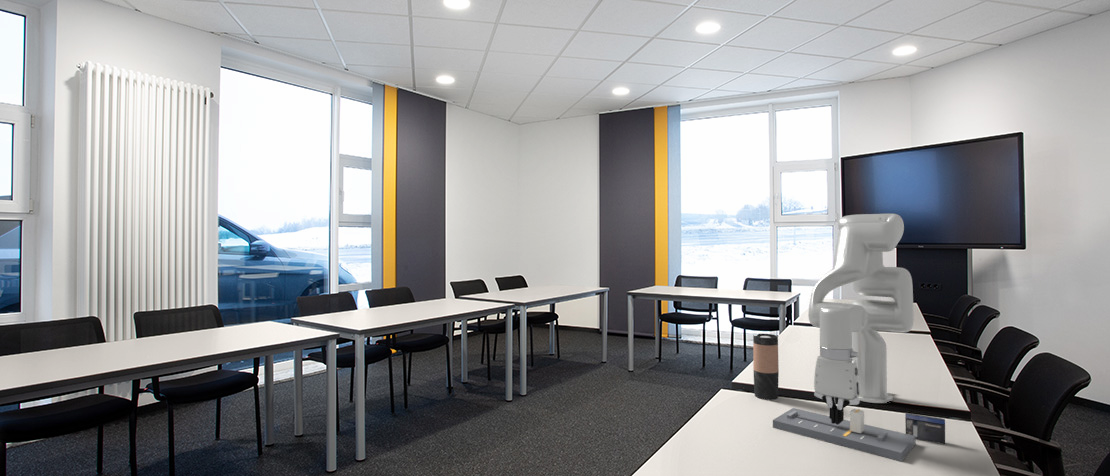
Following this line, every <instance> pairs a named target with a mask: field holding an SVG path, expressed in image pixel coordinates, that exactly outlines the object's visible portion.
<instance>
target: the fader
mask: <svg viewBox="0 0 1110 476" xmlns="http://www.w3.org/2000/svg"><path fill="white" fill-rule="evenodd" d="M849 421H850V431H853V432H857V433H862V432H863V431H864V424H865V410H861V409H859V408H858V409H857V408H852V409H851V410H850V411H849Z"/></svg>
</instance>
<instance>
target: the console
mask: <svg viewBox="0 0 1110 476" xmlns="http://www.w3.org/2000/svg"><path fill="white" fill-rule="evenodd" d="M772 428H774V429H777V430H782V431H786V432H788V433H793V434H796V435H801V436H805V437H807V438H811V439H816V440H819V441H822V442H827V443H830V444H835V445H839V446H841V447H845V448H849V449H853V450H856V451H857V450H858V451H860V452H865V453H868V454H871V455H872V454H873V455H876V456H880V457H883V458H886V459H887V458H888V459H890V460H894V461H899V462H902V461H903V460H904V459H905V458H906V456H908V454H909V453H910V452H911V451H912V449H913V448H914V447H915V446H916V444H917V441H916V440H917V439H916V436H913V435H909V434H906V433H904V432H900V431H894V430H890V429H886V428H882V427H877V426H875V425H874V426H873V425H869V424H865V423H864V431H863V432H862V433H857V432H853V431H850V420H847V419H844V420H843V421H842V422H841V423H840V424H839V425H837V424H835V423H834V424H833V423H831V419H830V418H829V415H825V414H822V413H816V412H813V411H809V410H805V409H799V408H796V407H793V408H790V409H788V411H786V412H784V413H782V414H781V415H779V416H777V417H776V418H773V419H772Z"/></svg>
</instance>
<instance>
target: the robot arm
mask: <svg viewBox="0 0 1110 476" xmlns="http://www.w3.org/2000/svg"><path fill="white" fill-rule="evenodd" d="M837 229H838V233H837V240H836V245H835V254H834V260H833V266H832V268H831V269H830V270H829V271H828V272H827V273H825V274H823V276H822V277H820V279H819V280H818V281H817V282H816V283H815V284H814V286H813V288H812V291H811V294H810V299H809V305H808V311H807V312H808V316H807V317H808V321H809V323H810V324H811V325H812V326H813V327H815V328H817V329H818V328H819V355H818V356H817V358H816V363H815V369H814V377H813V378H814V380H813V387H814V388H813V389H814V392H813V395H814V397H816V398H818V399H821V400H822V401H823V402H824V403H825V405H827V407H828V410H829V414H828V416H829V418H830V419H831V423H833V424H834V423H835V424H837V425H839V424H840V423H841V422H842V421H843V420H845V417H844V410H845V409H844V408H846V407H847V406H852V405H853V406H858V405H859V404H860V403H861V402H864V403H865V402H866V403H872V404H888V403H887V402H889V401H892V400H894V396H893V395H892V394H890V393H888V381H887V380H888V377H887V375H888V371H887V370H888V369H887V368H888V367H887V366H888V365H887V363H888V360H887V355H888V354H887V349H888V348H887V344H886V341H885V339H884V338H883V337H882V336H881V334H880V333H879V332H881V331H882V332H890V333H891V332H893V333H908V332H910V331H911V330H912V329H913V327H914V321H915V319H914V317H915V315H914V293H913V291H914V289H913V286H914V285H913V278H912V275H911V273H910V271H909V270H908V269H906V268H904V267H899V266H898V267H897V266H885V265H884V261H883V260H884V259H883V258H884V257H883V253H887V252H891V251H894V250H895V249H896V247H897V245H898V243H899V242H900V241H901V239H902V237H903V234H904V230H905V226H904V220H903V218H902V217H901V215H899V214H896V213H871V214H870V213H865V214H864V213H861V214H850V215H844V216H842V217H840V218H839V220H838V221H837ZM851 283H852V287H853V290H854V292H855V293H856V294H858V295H861V296H867V297H879V298H881V297H882V298H892V299H893V300H892V301H891V300H881V299H880V300H879V299H868V298H867V299H856V300H854V301H852V302H851V303H846V302H845V303H843V302H832V301H824V300H825V298H826V296H827V295H828V294H829V293H830V292H831V291H833V290H835V289H837V288H840V287H843V286H845V285H848V284H851ZM878 331H879V332H878ZM836 398H837V399H838V400H837V403H836ZM892 402H893V401H892ZM889 403H890V402H889Z"/></svg>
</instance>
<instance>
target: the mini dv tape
mask: <svg viewBox="0 0 1110 476" xmlns="http://www.w3.org/2000/svg"><path fill="white" fill-rule="evenodd" d="M904 420H905V434H909V435H913V436H916V440H918V441H919V440H920V441H924V442H930V443H936V444H940V445H946V419H945V418H941V417H934V416H929V415H923V414H917V413H909V412H905V419H904Z"/></svg>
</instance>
